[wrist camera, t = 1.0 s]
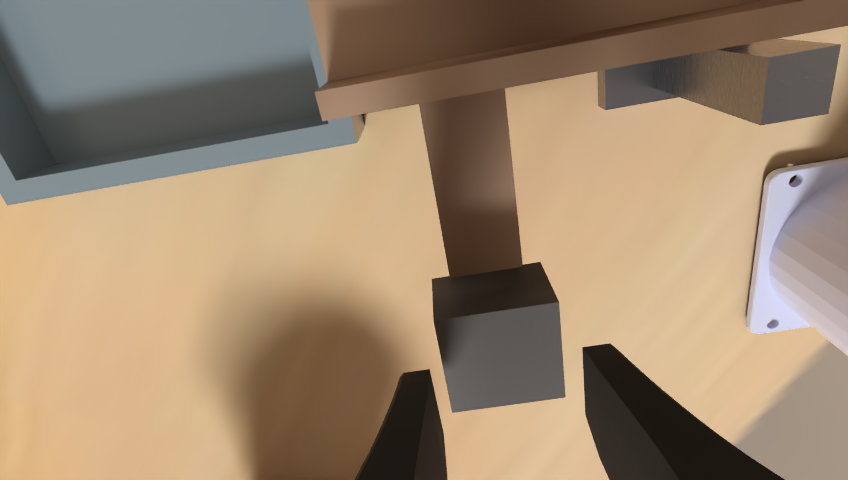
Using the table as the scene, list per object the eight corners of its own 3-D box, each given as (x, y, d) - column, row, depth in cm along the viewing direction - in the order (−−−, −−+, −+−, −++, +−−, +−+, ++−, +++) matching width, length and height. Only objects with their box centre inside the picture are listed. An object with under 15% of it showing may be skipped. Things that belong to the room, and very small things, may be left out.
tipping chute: (1515, -783, 7) (2260, -1322, 4) (1058, 259, 14) (1216, 321, 11) (207, -430, 8) (97, -653, 5) (401, 355, 16) (396, 431, 13)
